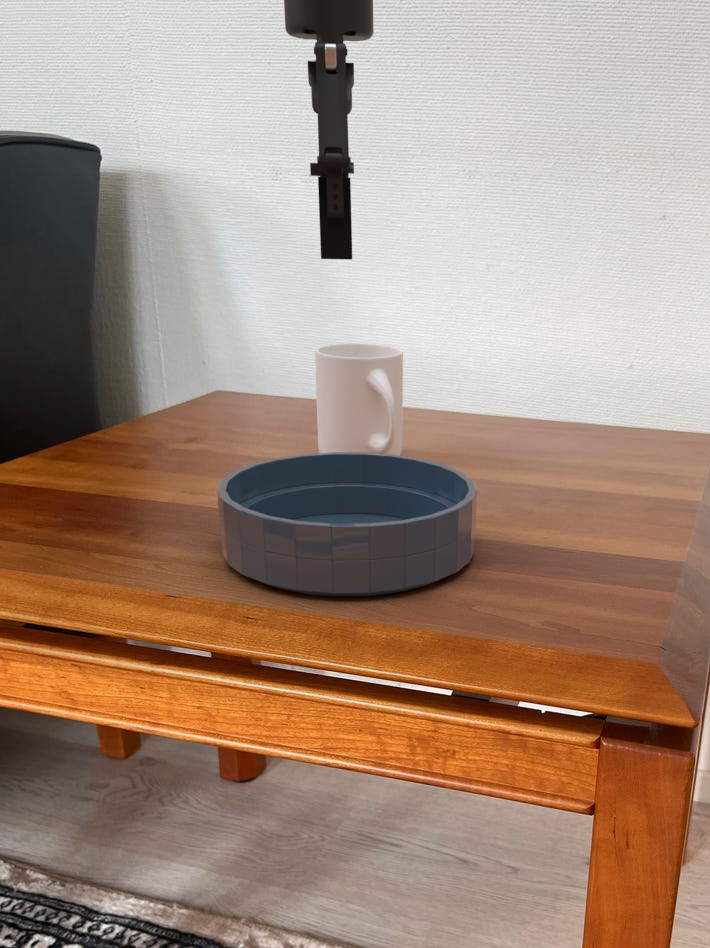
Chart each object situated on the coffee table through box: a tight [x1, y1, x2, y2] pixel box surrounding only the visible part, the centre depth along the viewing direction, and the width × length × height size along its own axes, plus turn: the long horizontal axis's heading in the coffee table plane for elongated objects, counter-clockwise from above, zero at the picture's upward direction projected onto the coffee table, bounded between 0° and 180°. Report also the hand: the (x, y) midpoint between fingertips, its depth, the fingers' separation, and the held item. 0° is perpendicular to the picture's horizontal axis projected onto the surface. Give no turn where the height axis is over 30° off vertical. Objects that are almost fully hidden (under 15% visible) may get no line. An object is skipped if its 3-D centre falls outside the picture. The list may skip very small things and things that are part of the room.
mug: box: [314, 342, 404, 456], centre depth 102 cm, size 9×12×11 cm
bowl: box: [216, 452, 478, 597], centre depth 78 cm, size 19×19×6 cm
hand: (336, 252), depth 95 cm, fingers open, 13 cm apart
